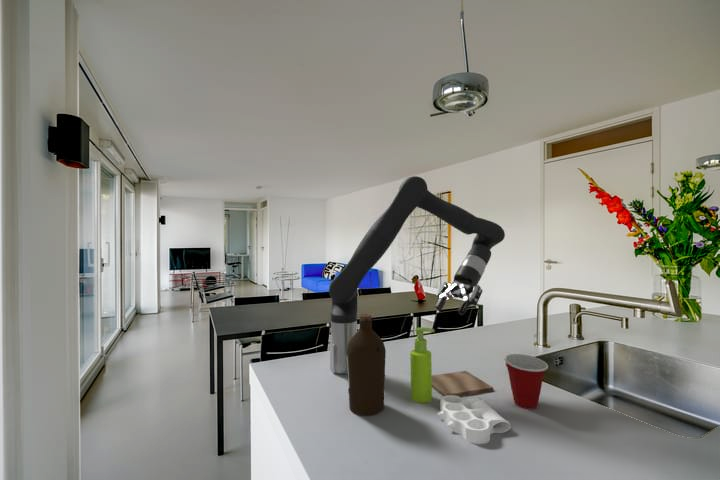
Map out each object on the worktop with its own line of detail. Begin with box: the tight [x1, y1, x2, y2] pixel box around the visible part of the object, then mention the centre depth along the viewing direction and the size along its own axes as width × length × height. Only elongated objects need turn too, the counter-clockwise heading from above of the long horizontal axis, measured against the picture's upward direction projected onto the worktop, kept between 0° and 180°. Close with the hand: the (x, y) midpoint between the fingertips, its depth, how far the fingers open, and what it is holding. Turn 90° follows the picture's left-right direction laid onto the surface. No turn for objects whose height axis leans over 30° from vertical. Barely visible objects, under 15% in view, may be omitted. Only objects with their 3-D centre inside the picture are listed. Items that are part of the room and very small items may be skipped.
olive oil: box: [346, 313, 387, 416], centre depth 93 cm, size 11×11×25 cm
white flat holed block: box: [436, 395, 511, 445], centre depth 84 cm, size 3×18×15 cm
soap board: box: [432, 370, 494, 397], centre depth 106 cm, size 16×14×1 cm
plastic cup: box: [504, 353, 549, 410], centre depth 93 cm, size 11×11×12 cm
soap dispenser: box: [409, 327, 435, 404], centre depth 98 cm, size 6×7×20 cm
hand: (448, 311), depth 106 cm, fingers open, 8 cm apart
